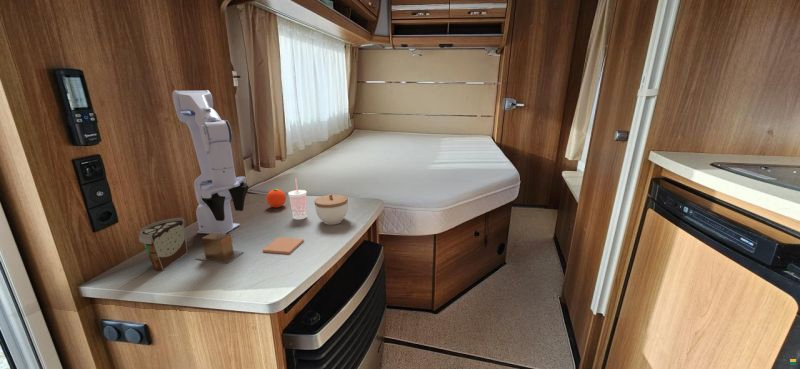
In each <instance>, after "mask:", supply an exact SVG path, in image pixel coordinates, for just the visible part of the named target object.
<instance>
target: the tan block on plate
mask: <svg viewBox="0 0 800 369" xmlns="http://www.w3.org/2000/svg"><path fill="white" fill-rule="evenodd" d="M201 241H202V245H203V251H204V252H203V253H202V254H200V255H199V256H197V257H195V260H198V261H204V262H213V263H221V264H227V265H228V264H229V263H231V262H232V261H234V260H235V259H237V258H239V257H241V255H243V254H244V251H242V250H234V248H233V242H232V241H233V240H232V235H231V234H228V233H226V234H219V233H211V234H206V235H205V236H203V237H201Z"/></svg>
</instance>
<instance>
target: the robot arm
mask: <svg viewBox="0 0 800 369" xmlns="http://www.w3.org/2000/svg"><path fill="white" fill-rule="evenodd" d="M171 93H172V94H171V95H172V101H173V106H174V110H175V114H176V116H177V118H178V120H179V121H180V122H182V123H184V124H186V126H187V128H188V131H189V133H190V136H191V140H192V144H193V147H194V151H195V154H196V159H197V162H198V166H199V169H200V173H201V174H199V176H197V177H196V178H195V180H194V182H193V188H194V194H195V198H196V201H197V203H198V205H197V208H196V210H195V214H196V220H197V225H198V231H197V233H198V234H206V235H209V234H211V233H219V234H228V233H229V232H231V231H232V230H235V229H236V228H237V227H238V228H239V226H241V224H240V223H237V222H236V223H235V222H234V219H233V215H232V209H231V202H233V203H232V204H233V207H234V210H235V211H237V212H239V211H240V212H242V211H244V207H245V199H246V195H247V192H248V190H249V188H250V187H249V185H248V184H247V177H246V176H236V171H235V170H236V169H235V164H234V163H235V162H234V156H233V151H232V144H231V143H232V142H233V132H232V131H233V130H232V127H231V124H230V122H229V120H228V119H226V120H225V119H223V120H222V118H221V117H220V115H219V114H218V112H217V111H216V110H215V109H214V101H213V100H214V99H213V95H212V93H211V92H210V90H208V89H205V90H176V89H175V90H173V91H172V92H171Z"/></svg>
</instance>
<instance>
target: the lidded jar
mask: <svg viewBox="0 0 800 369" xmlns="http://www.w3.org/2000/svg"><path fill="white" fill-rule="evenodd" d="M348 201H349V200H348V197H347V195H342V194H333V193H332V194H331V193H330V194H327V195H326V194H325V195H322V196H319V197H316V199H315V200H314V201H313V202H314V206H315V212H316V215H317V217H318V218H319V220H320V221H321V222H323V223H324V225H337V224H340V223H342V222H343V220H344V219H345V217H346V216H347V213H348V207H349V206H348V205H349V203H348Z"/></svg>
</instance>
